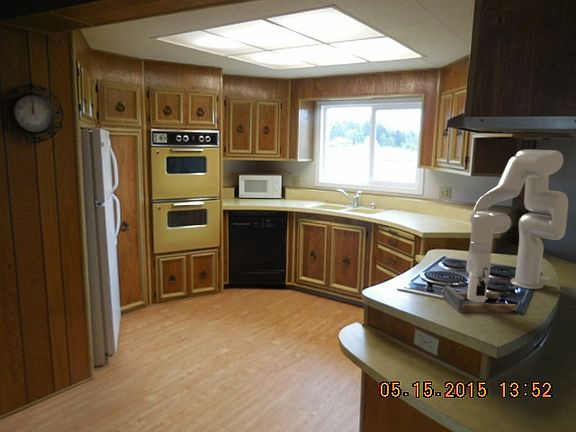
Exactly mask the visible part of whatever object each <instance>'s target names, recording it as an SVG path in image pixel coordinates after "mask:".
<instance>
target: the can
mask: <svg viewBox="0 0 576 432" xmlns="http://www.w3.org/2000/svg"><path fill="white" fill-rule="evenodd" d="M481 277H484V276H483V275H482V276H481ZM480 280H481V281H482V280H484V279H480ZM467 284H468V285H467V292H468V295H467V299H468V301H469V302H471V303H474V304H485V302H486V301H487V300H486V292H487V288H488V285H487V286H486V290H485V296H477V295H476V289H477V285H478V278H475V277H473V274H472V273H471V272H470V274H468V283H467Z"/></svg>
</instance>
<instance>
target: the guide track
mask: <svg viewBox="0 0 576 432" xmlns="http://www.w3.org/2000/svg"><path fill="white" fill-rule="evenodd" d="M467 295H468V291H456V290H455V289H453V288H452V287H451V286H449V285H444V287H443V295H442V296H443V297H442V298H443V299H444V300H445V301H446V302H447V303H448V304H449V306H452V308H453V309H454V310H455V311H456V312H460V313H461V312H462V313H464V312H465V313H466V312H467V313H474V312H475V313H511V312H510V311H517V310H518V305H517V304H516V303H465V299H467ZM500 295H501V293H499V292H498V291H497V292H496V291H495V292H493V291H490V292H487V291H486V298H499V299H500V298H501V296H500ZM517 312H518V311H517Z"/></svg>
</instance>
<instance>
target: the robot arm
mask: <svg viewBox="0 0 576 432" xmlns="http://www.w3.org/2000/svg"><path fill="white" fill-rule="evenodd" d="M563 163H564V155H563V154H562V153H561V151H559V150H553V149H551V150H550V149H522V150H518V151H517V152H516V154H515V155H514V156H512V157H510V159H509V160H508V161H507V164H506V165H505V168H504V170H503V172H502V174H501V177H500V179H499V181H498V182H497V185H496V186H495V187H494V188H492V189H490V190H489V191H487V192H485V194H483V195H482V196H481V197H480V198H479V199H478V200H477V201H476V204H475V205H474V208H473V210H472V212H471V214H470V218H469V219H470V225H471V229H470V230H471V232H470V241H469V249H468V252H467V259H466V266H465V271H466V272H467V273H468V275H469V274H470V272H471V273H472V274H473V277H475V278H478V285H477V289H476V295H477V296H485V290H486V286H487V287H488V283H489V282H490V280H491V279H490V276H491V275H490V273H491V259H492V258H491V252H492V251H493V249H492V247H493V240H494V239H493V238H494V234H496V233H497V234H498V233H499V234H500V233H501V234H503V233H505V232H507V231H508V230H509V229H510V228H511V226H512V220H511V217H510V216H509V215H508V214H506V213H503V212H497V211H490V210H488V209H489V208H490V207H492V206H494V205H496V204H497V203H500V202H504V201H508V200H510V199H514V198H516V197H518V196H519V195H520V193H521V192H522V189H523V187H524V186H525V187H524V199H523V200H524V202H523V203H524V208H525V209H526V210H528V211H531V212H538V213H544V214H549V215H544V214H538V213H525V214H522V216H521V217H520V218H519V220H518V235H519V237H518V240H519V241H518V250H517V259H516V268H515V277H513V278H511V279H510V283H511V284H512V285H514V286H515V287H518V288H521V289H522V288H523V289H528V290H539V289H543V288H544V282H547V283H549V282H552V279H551V277H548V276H547V277H546V276H543V275H541V273H542V265H543V256H544V248H545V247H544V243H543V241H542V240H541V238H542V239H545V240H546V239H547V240H553V241H557V240H558V241H559V240H561V239H563V238H564V235H565V234H566V228H567V219H568V209H569V208H568V207H569V199H568V196H567V194H566V193H565V192H562V191H559V190H551V189H549V181H550V179H549V178H550V177H549V176H551V175H553V174H554V173H556V172H558V171H559V170H560V169H561V168H562V166H563ZM482 275H483V276H484V277H481V276H482ZM480 279H484V280H482V281H481V280H480Z"/></svg>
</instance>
